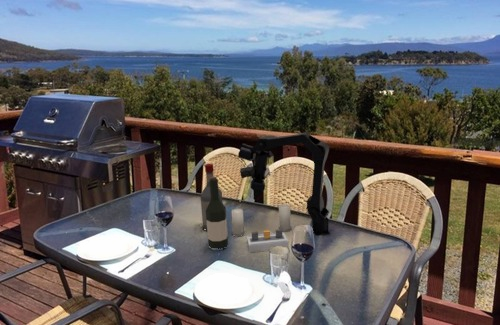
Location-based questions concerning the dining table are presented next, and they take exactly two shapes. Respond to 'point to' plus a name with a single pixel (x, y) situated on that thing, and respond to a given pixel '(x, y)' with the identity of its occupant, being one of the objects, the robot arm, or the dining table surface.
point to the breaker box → (266, 242)
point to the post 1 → (237, 222)
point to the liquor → (207, 194)
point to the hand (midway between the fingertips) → (254, 195)
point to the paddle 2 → (278, 233)
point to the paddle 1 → (255, 235)
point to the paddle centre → (267, 234)
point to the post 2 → (284, 218)
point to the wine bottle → (216, 218)
